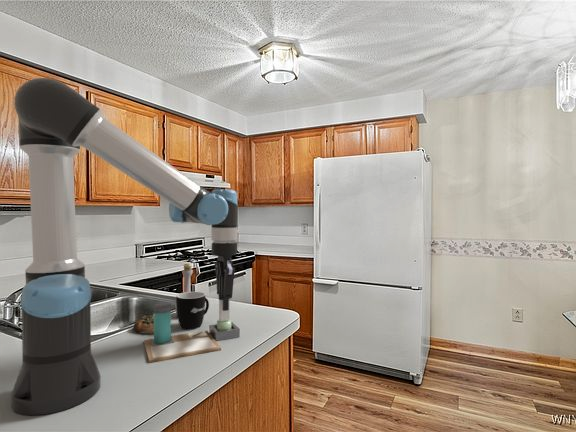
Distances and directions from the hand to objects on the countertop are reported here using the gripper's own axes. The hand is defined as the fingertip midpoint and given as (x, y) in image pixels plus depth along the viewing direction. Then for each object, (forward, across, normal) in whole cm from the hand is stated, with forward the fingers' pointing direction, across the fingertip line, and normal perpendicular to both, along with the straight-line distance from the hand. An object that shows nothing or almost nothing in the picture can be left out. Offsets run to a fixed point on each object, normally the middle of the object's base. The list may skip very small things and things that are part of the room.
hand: (224, 320), depth 106 cm
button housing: (+5, 0, 0) cm, 5 cm away
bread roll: (+5, +16, +19) cm, 25 cm away
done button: (+4, 0, 0) cm, 4 cm away
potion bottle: (+5, +25, +6) cm, 26 cm away
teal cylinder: (+4, +1, +18) cm, 18 cm away
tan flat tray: (+4, -3, +13) cm, 14 cm away
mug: (+5, +13, +6) cm, 15 cm away
